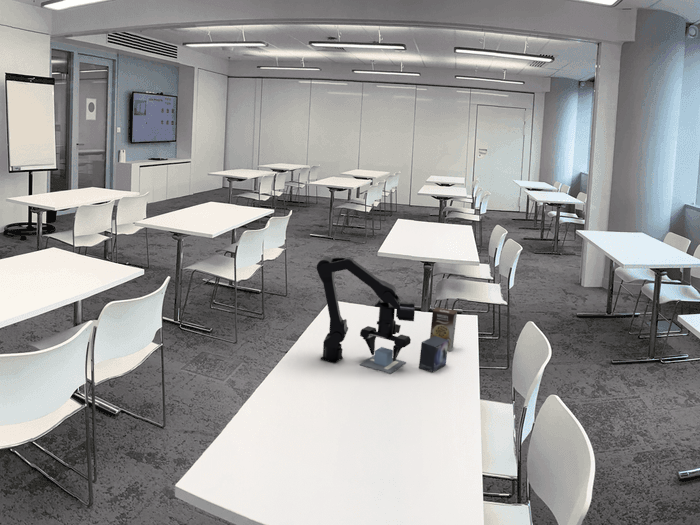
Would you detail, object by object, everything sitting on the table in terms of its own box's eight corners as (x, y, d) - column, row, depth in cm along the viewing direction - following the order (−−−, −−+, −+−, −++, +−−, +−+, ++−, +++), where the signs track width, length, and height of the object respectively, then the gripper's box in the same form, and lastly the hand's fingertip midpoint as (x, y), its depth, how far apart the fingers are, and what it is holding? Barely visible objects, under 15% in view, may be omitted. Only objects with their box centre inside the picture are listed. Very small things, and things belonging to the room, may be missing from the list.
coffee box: (428, 347, 240) (431, 310, 237) (432, 342, 246) (435, 306, 242) (450, 352, 237) (454, 314, 233) (453, 347, 243) (457, 310, 239)
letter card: (359, 365, 218) (359, 363, 218) (376, 354, 229) (376, 353, 229) (390, 374, 212) (390, 372, 212) (406, 363, 223) (406, 361, 223)
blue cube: (374, 363, 219) (375, 350, 218) (380, 359, 224) (381, 346, 223) (385, 366, 217) (386, 353, 216) (392, 362, 221) (393, 350, 220)
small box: (433, 373, 215) (435, 346, 213) (418, 368, 219) (420, 341, 216) (446, 365, 223) (449, 339, 221) (432, 360, 227) (434, 335, 225)
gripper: (418, 318, 219) (415, 357, 222) (375, 308, 228) (372, 346, 231) (405, 326, 209) (402, 366, 213) (360, 315, 218) (358, 354, 222)
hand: (383, 357), depth 220 cm, fingers open, 9 cm apart
